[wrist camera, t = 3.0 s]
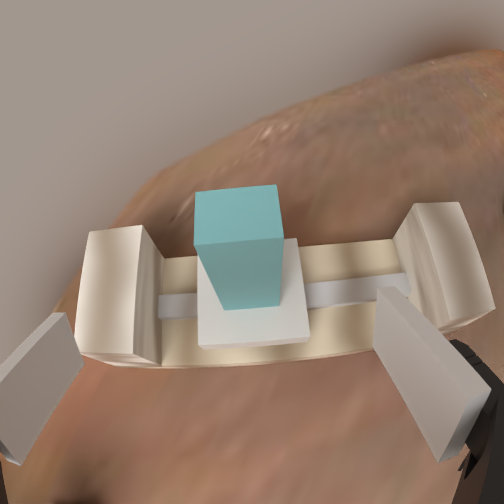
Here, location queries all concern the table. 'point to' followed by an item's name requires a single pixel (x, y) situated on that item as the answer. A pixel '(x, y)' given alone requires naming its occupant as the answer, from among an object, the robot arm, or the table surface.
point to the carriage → (246, 271)
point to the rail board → (315, 286)
